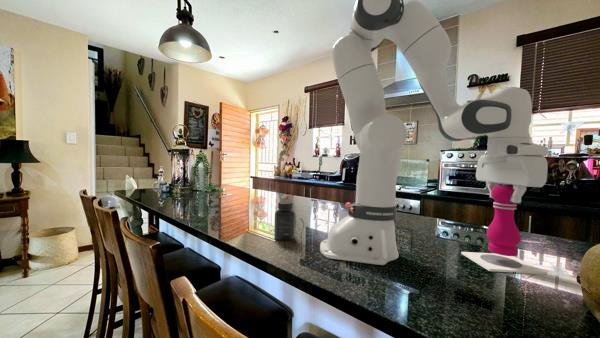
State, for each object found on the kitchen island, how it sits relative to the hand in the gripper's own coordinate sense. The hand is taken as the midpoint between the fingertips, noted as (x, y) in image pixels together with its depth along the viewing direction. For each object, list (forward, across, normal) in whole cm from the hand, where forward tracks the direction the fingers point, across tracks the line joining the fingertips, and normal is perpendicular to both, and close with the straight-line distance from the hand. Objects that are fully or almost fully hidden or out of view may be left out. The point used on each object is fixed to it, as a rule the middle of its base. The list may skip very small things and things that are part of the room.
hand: (504, 200), depth 68 cm
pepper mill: (+14, 0, 0) cm, 14 cm away
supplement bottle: (+17, -12, -61) cm, 65 cm away
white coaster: (+17, 0, 0) cm, 17 cm away
